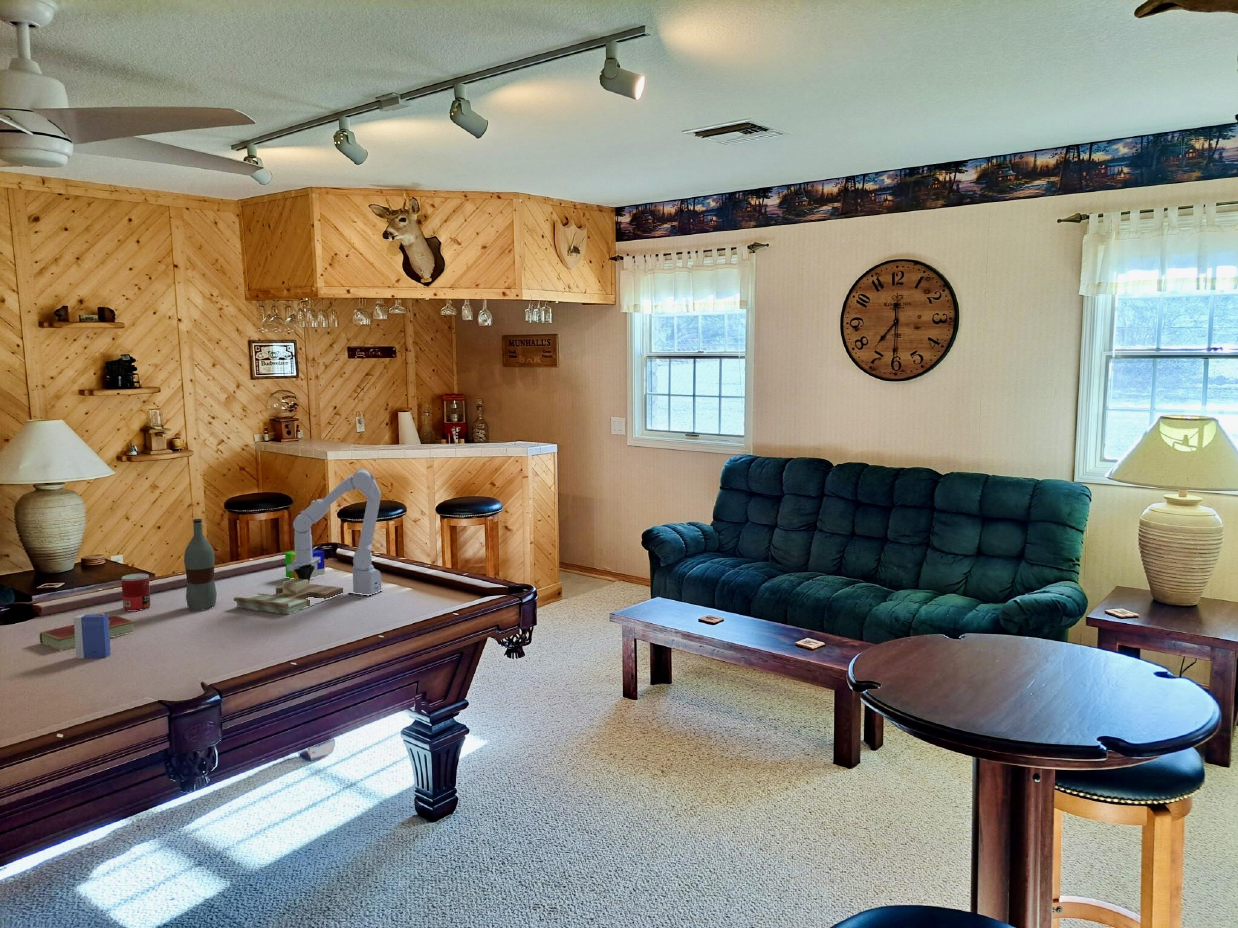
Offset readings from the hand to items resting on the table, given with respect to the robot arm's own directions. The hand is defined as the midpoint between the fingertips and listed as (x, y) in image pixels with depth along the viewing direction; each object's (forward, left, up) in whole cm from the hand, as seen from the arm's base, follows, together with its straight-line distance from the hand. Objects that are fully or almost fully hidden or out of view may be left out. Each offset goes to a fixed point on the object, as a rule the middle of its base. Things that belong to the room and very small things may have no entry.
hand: (304, 586), depth 299 cm
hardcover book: (+26, +61, -4) cm, 67 cm away
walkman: (+10, +72, -4) cm, 73 cm away
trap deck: (0, +7, -3) cm, 8 cm away
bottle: (+22, +24, -4) cm, 33 cm away
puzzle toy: (+19, -22, -4) cm, 29 cm away
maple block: (0, +4, -1) cm, 5 cm away
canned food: (+41, +33, -4) cm, 53 cm away
